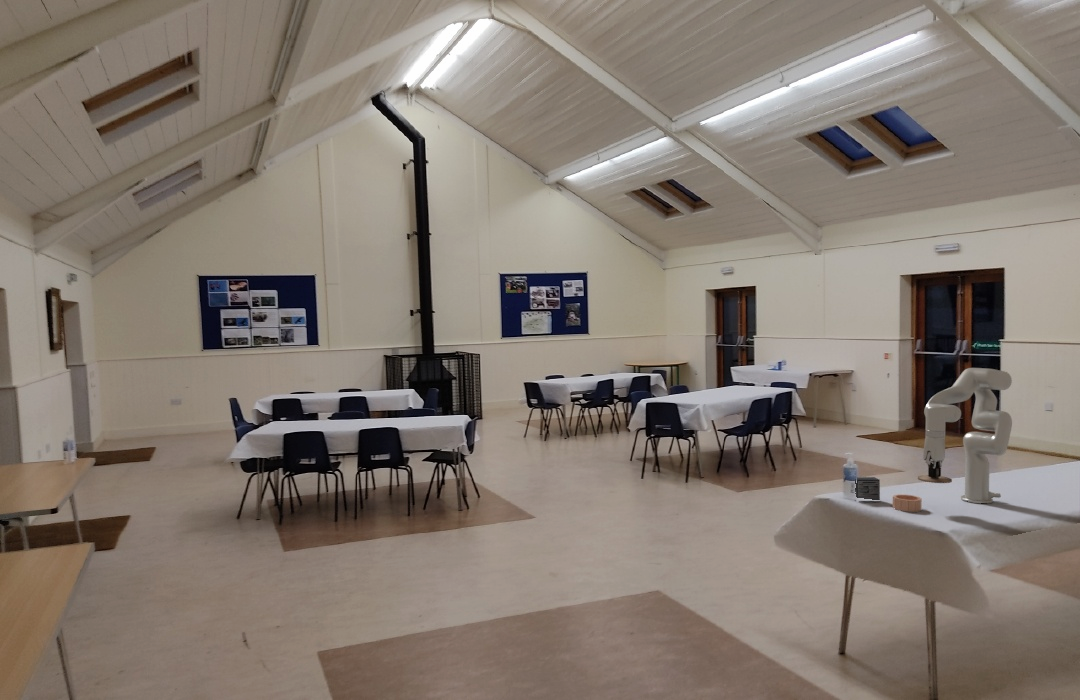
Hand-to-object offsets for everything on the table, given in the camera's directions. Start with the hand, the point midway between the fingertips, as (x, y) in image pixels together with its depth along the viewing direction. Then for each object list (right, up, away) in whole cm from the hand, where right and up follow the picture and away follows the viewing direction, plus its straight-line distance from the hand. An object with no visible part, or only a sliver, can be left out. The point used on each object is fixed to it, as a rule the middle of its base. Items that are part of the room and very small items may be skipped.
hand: (934, 476), depth 318 cm
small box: (-20, -15, +21) cm, 33 cm away
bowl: (-9, -15, +6) cm, 19 cm away
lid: (0, -2, 0) cm, 2 cm away
